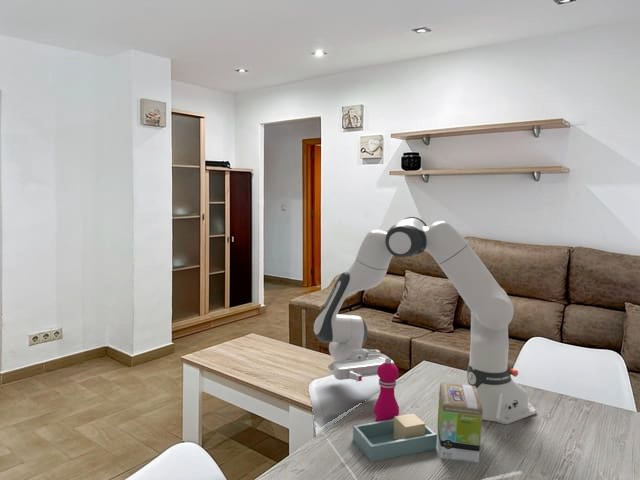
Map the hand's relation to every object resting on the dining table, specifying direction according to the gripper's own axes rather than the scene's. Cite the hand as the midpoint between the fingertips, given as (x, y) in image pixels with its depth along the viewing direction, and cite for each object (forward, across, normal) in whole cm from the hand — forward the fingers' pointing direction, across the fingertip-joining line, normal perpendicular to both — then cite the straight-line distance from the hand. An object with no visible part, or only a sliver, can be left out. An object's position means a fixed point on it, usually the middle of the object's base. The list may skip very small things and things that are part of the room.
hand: (373, 377), depth 144 cm
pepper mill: (+9, 0, +11) cm, 14 cm away
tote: (+20, -4, +11) cm, 23 cm away
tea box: (+25, +12, +11) cm, 30 cm away
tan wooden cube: (+20, +1, +10) cm, 22 cm away
